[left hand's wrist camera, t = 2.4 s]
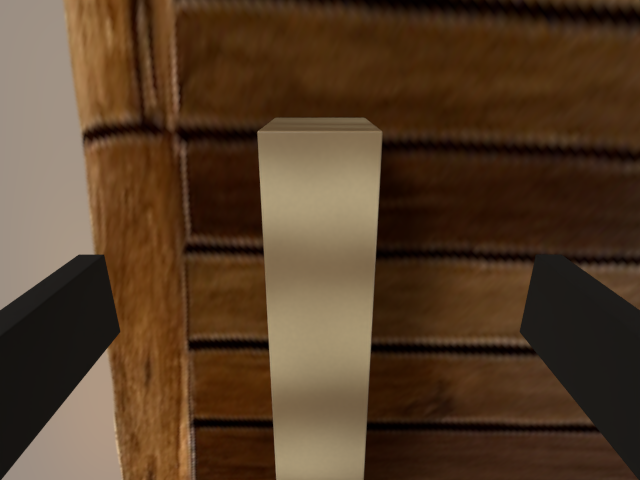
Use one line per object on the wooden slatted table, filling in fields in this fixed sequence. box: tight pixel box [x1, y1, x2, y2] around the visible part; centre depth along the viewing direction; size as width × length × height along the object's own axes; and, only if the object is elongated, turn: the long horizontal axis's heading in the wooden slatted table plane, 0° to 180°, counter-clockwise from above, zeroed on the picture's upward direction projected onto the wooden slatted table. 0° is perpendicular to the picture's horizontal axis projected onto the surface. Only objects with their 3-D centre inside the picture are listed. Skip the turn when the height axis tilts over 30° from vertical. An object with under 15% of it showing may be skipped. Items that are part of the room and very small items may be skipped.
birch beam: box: [257, 118, 383, 480], centre depth 29 cm, size 34×6×8 cm, turn 0°
